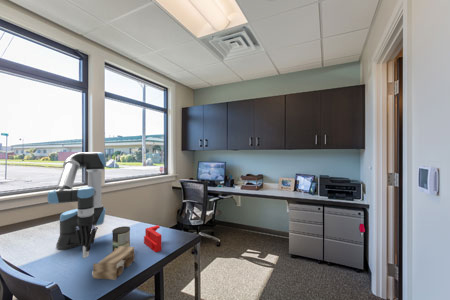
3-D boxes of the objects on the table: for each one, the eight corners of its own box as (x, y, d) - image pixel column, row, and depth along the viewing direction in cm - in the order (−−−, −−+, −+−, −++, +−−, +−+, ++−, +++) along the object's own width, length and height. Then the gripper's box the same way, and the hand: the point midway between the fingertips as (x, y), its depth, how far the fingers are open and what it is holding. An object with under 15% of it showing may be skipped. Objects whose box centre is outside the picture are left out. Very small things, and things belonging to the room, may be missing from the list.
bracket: (144, 229, 139) (157, 225, 146) (144, 243, 139) (157, 239, 146) (155, 236, 126) (170, 232, 133) (155, 252, 126) (170, 247, 133)
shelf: (93, 278, 101) (93, 262, 101) (115, 259, 118) (115, 246, 118) (115, 279, 99) (115, 263, 99) (134, 261, 116) (134, 247, 116)
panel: (92, 276, 103) (92, 269, 103) (107, 263, 115) (107, 257, 115) (113, 277, 102) (113, 270, 102) (127, 264, 114) (127, 258, 114)
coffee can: (109, 255, 123) (109, 232, 123) (116, 247, 133) (116, 226, 133) (126, 254, 124) (126, 232, 124) (132, 246, 134) (132, 226, 134)
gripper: (69, 217, 107) (69, 259, 108) (91, 218, 106) (91, 261, 107) (80, 212, 115) (80, 252, 115) (101, 213, 114) (101, 253, 114)
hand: (85, 256), depth 111 cm, fingers closed
